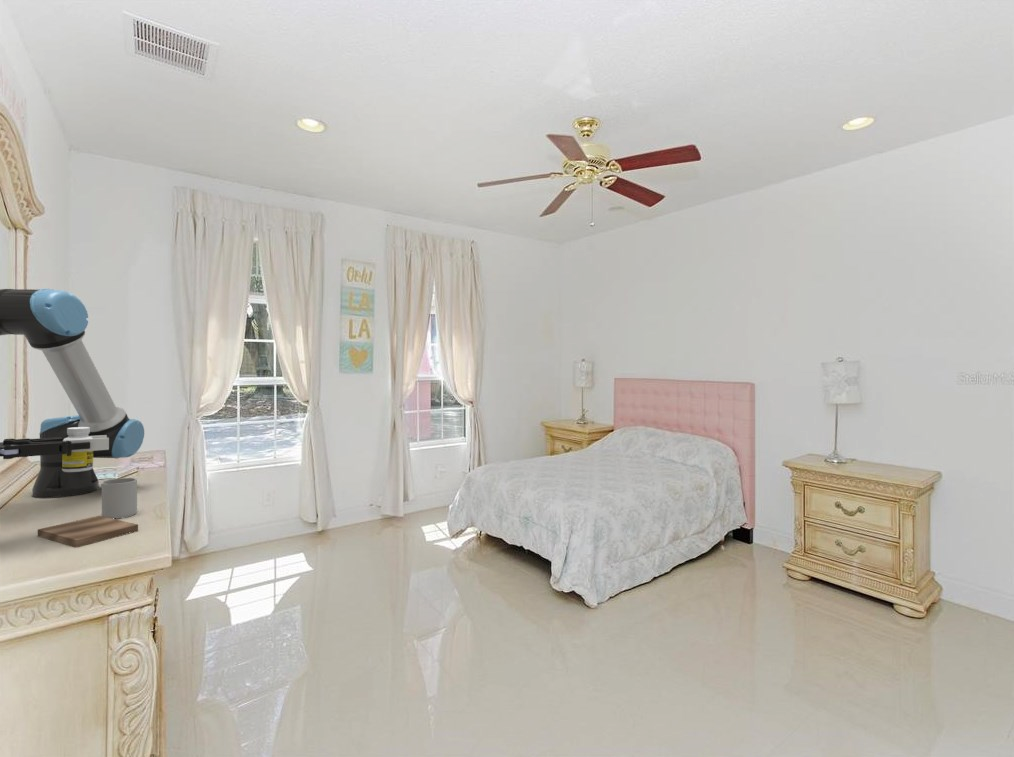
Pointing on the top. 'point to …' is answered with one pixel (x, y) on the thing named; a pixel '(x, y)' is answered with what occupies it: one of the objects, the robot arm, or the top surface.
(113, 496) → the cup
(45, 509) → the top surface
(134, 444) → the robot arm
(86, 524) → the walnut board
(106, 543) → the top surface
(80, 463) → the supplement bottle
